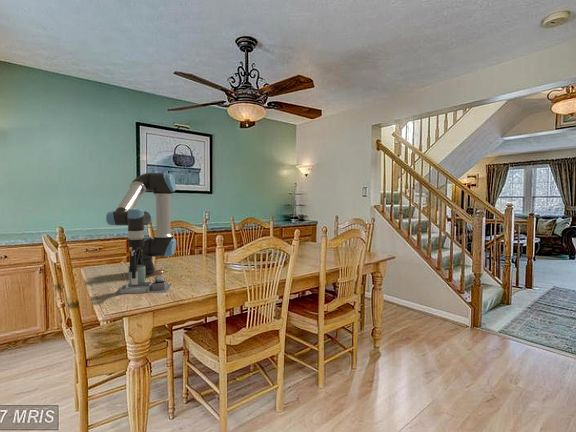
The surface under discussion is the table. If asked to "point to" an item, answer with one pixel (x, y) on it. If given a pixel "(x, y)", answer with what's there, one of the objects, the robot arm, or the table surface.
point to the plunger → (159, 276)
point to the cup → (138, 275)
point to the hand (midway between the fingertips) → (137, 282)
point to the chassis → (144, 288)
